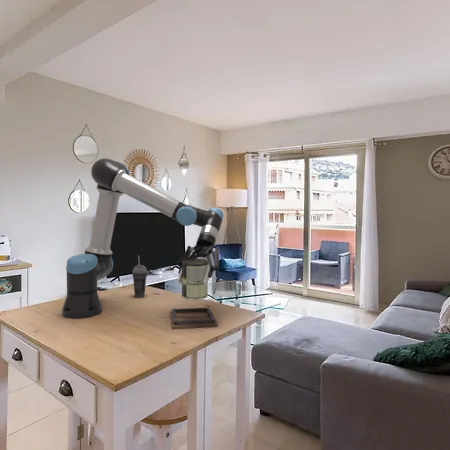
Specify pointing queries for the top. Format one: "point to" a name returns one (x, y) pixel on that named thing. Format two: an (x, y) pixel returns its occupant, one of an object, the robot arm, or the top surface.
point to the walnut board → (192, 318)
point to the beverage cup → (139, 279)
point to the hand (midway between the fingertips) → (191, 282)
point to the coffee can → (194, 279)
